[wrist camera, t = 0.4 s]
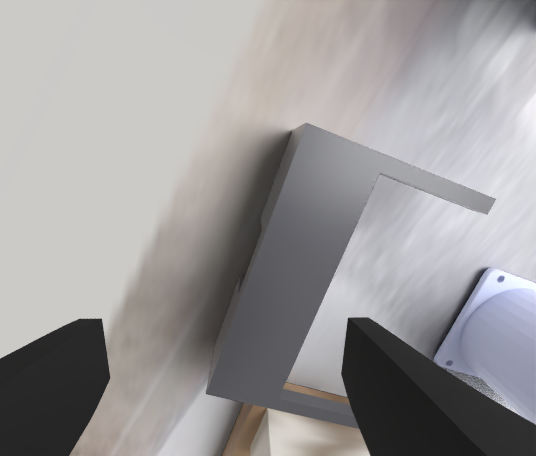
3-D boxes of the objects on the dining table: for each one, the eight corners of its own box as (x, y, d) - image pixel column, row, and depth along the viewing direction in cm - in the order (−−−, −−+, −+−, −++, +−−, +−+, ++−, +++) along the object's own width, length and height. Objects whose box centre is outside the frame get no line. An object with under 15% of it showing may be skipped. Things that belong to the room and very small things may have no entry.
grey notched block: (440, 188, 17) (496, 199, 13) (344, 378, 21) (365, 430, 17) (292, 130, 16) (306, 122, 12) (214, 345, 19) (205, 393, 15)
